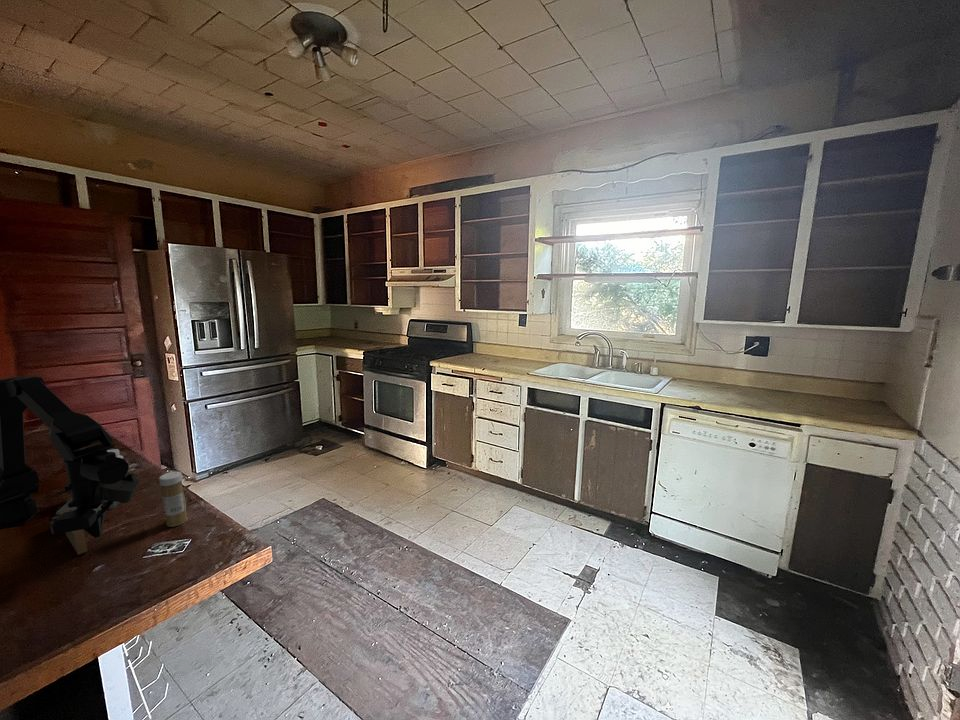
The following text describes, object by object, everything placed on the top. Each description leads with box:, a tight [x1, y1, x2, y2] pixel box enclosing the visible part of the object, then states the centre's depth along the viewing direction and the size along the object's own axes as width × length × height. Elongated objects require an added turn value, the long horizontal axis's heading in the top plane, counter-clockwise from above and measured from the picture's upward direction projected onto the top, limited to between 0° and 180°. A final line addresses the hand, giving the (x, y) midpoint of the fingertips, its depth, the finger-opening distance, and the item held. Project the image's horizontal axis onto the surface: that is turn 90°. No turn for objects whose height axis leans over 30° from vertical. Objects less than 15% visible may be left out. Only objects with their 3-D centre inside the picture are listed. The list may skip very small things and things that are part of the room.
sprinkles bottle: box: [158, 471, 189, 528], centre depth 102 cm, size 5×5×13 cm
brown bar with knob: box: [49, 510, 89, 555], centre depth 96 cm, size 20×5×5 cm, turn 55°
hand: (97, 536), depth 93 cm, fingers closed
